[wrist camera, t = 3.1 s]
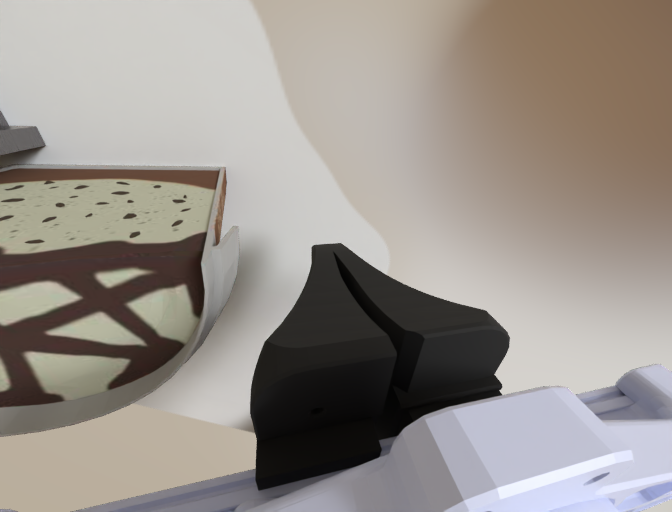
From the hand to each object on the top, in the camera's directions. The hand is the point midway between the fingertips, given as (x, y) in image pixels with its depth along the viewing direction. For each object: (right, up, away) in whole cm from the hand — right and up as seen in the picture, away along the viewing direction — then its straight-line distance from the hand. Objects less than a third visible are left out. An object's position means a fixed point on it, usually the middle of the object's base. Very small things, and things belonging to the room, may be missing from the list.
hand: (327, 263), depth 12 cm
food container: (-10, +2, +3) cm, 11 cm away
